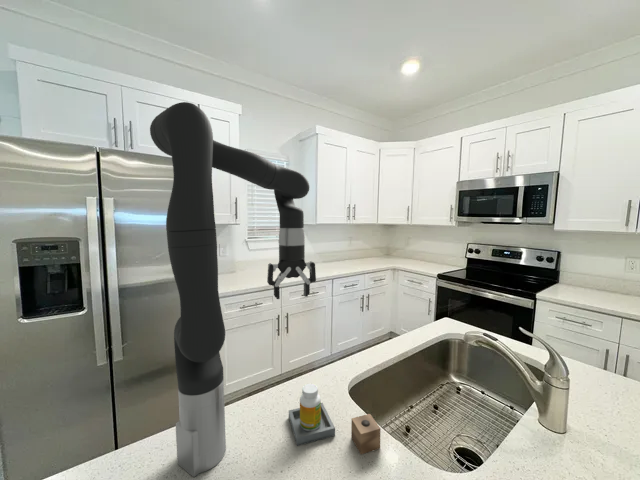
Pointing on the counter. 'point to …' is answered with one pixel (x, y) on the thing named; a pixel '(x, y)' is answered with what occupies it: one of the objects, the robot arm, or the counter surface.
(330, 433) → the tray
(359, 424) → the wooden block with knob
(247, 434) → the counter surface
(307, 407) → the supplement bottle
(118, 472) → the counter surface
